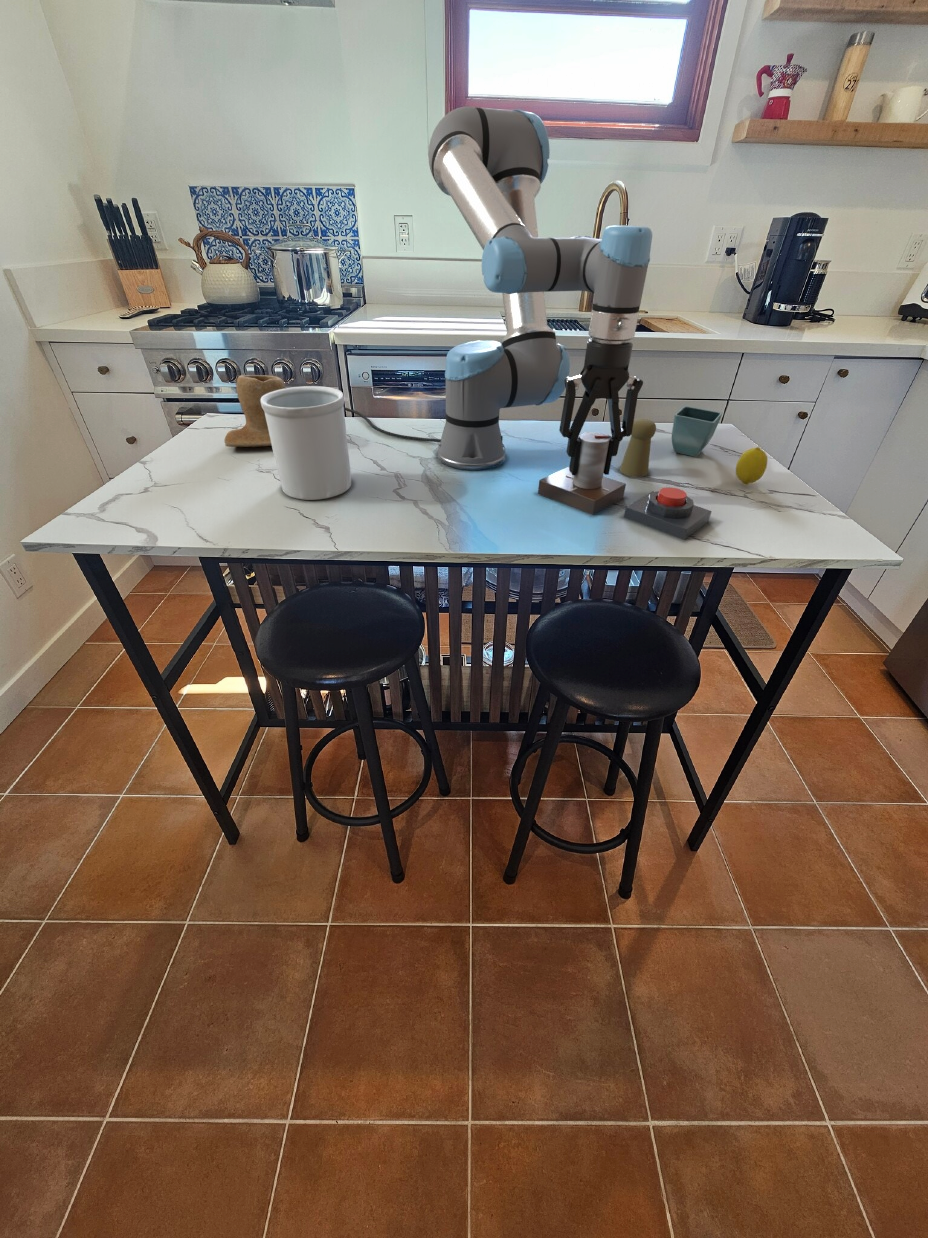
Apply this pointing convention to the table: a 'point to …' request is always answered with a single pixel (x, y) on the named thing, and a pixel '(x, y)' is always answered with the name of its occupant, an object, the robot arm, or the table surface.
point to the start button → (672, 496)
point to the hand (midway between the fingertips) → (588, 471)
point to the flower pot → (693, 429)
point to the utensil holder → (309, 440)
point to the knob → (591, 460)
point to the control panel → (580, 492)
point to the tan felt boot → (253, 411)
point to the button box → (667, 515)
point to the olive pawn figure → (638, 449)
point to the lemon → (751, 465)
